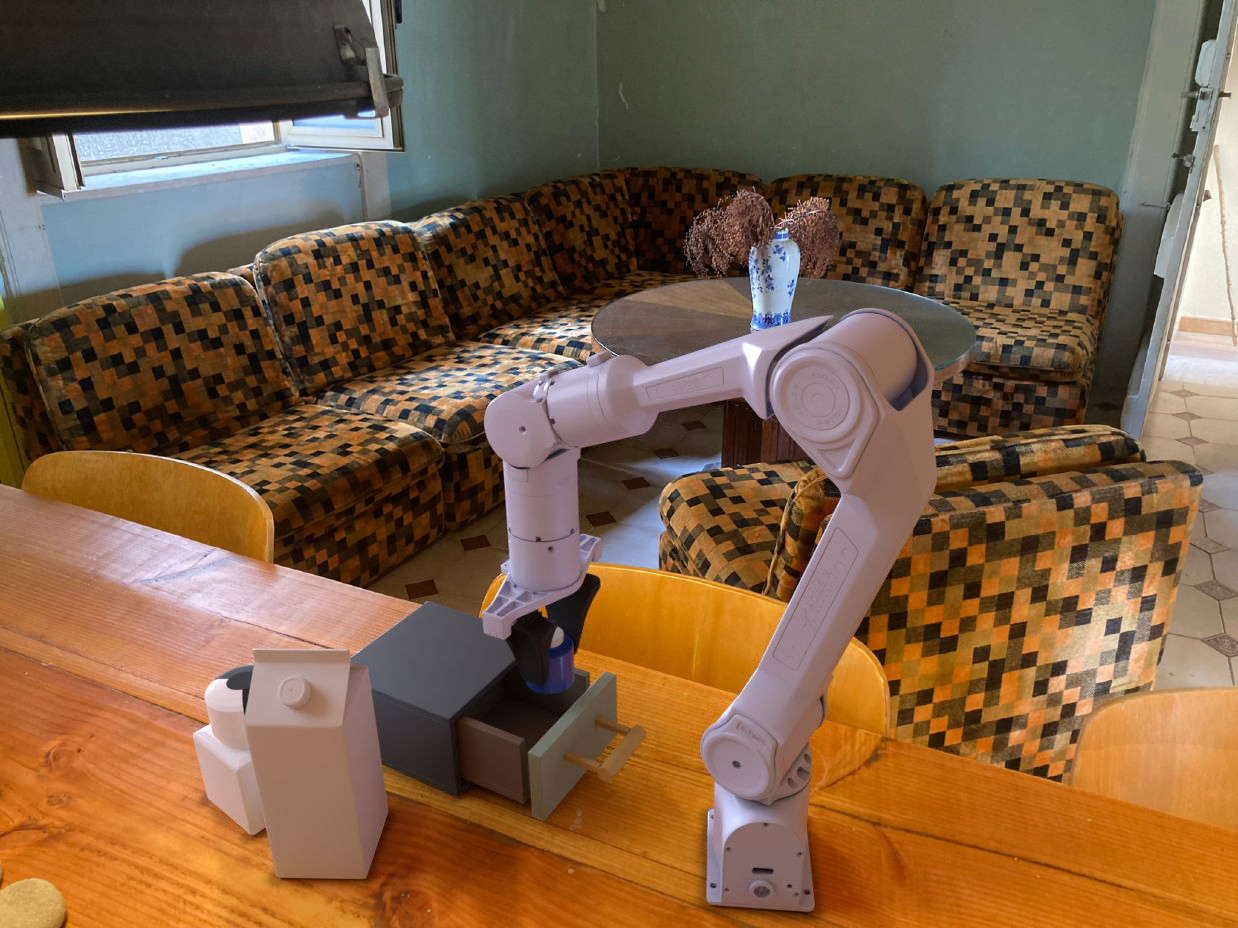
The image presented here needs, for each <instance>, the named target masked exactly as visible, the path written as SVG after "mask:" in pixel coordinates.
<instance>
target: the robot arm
mask: <svg viewBox="0 0 1238 928" xmlns="http://www.w3.org/2000/svg"><path fill="white" fill-rule="evenodd" d="M834 318H835V315H834V314H832V315H831V314H830V315H820V316H814V317H809V318H805V319H802V320H798V321H793V322H789V323H783V324H781V325H777V326H773V327H772V326H771V327H767V328H763V329H760V330H758V331H755V332H751V333H749V334H746V335H742V336H738V337H736V338H733V339H730V340H727V341H724V342H721V343H717V344H715V345H710V346H708V347H705V348H702V349H699V350H696V351H693V352H690V353H687V354H684V355H680V356H678V357H674V358H671V359H668V360H664V361H661V362H659V363H656V364H653V365H649V366H648V365H647V364H645V363H644V362H643V361H642V360H640V359H639V358H637V357H635V356H633V355H629V354H620V355H617V356H614V357H613V353H612V351H611V350H609V349H607V350H604V351H600V352H596V353H595V354H592V355H590V356H589V357H587V358H586V359H585V362H586V365H583V366H580V367H577V368H573V369H569V370H567V371H566V370H565V371H563V372H561V371H560V369H558V368H557V367H555V368H551V369H548V370H545V371H543V372H541V373H540V374H539V375H538V377H536V378H534V379H532V380H529V381H527V382H525V383H523V384H521V385H518V386H516V387H514V388H512V389H510V390H507V391H504V392H503V393H502V394H500V395H498V396H497V397H495V398H494V399H493V400H492V401H490V402H489V404H488V405H487V407H486V409H485V413H484V417H483V426H484V432H485V436H486V438H487V441H488V444H489V445H490V447H491V448H492V450H493V451H494V453H495V454H496V455H497V456H498V457H499V458H500V459H502V467H503V468H502V469H503V482H504V496H505V511H506V525H507V539H508V540H507V541H508V557H509V559H507V560H506V561H505V562H503V563H502V564H501V565H500V570H501V571H500V572H501V574H503V575H504V576H505V578H504V580H503V582H502V584H501V585H500V588H499V590H498V591H497V593H496V595H495V597H494V598H493V600H492V602H491V603H490V605H488V607H487V608H486V609H484V610H483V611H482V612H481V614H482V619H483V629H484V633H485V634H488V635H490V636H493V637H496V638H500V639H503V640H505V641H506V642H507V644H508V646H509V647H510V649H511V651H512V653H513V655H514V658H515V660H516V663H517V665H518V668H519V671H520V673H521V676H522V679H523V680H524V681H527V682H530V683H532V684H535V685H538V686H543V685H544V684H545V683H546V682H547V679H548V674H549V656H550V648H551V643H552V639H553V636H554V633H555V630H556V628H557V627H559V628H561V629H562V630H563V632H564V634H566V635H568V636H569V637H570V638H571V639H572V641H573V644H574V656H575V655H577V653H578V651H579V646H580V643H581V638H582V633H583V629H584V626H585V623H586V618H587V616H588V613H589V611H590V608H591V605H592V603H593V601H594V599H595V597H596V596H597V594H598V593H599V591H600V589H601V578H600V577H599V576H598V575H596V574H592V573H589V572H588V570H589V569H590V566H591V563H596V562H598V561H599V560H601V559H602V558H603V549H602V546H603V545H602V544H603V541H602V538H601V537H597V536H594V535H590V534H586V533H581V534H580V515H579V485H578V484H579V483H578V460H579V459H581V449H583V448H588V447H591V446H596V445H601V444H604V443H609V442H614V441H618V440H622V439H626V438H630V437H635V436H640V435H643V434H645V433H647V432H649V430H650V429H651V428H652V427H653V425H654V424H655V422H656V420H657V418H658V416H659V413H661V412H668V411H671V410H672V411H673V410H678V409H684V408H689V407H693V406H699V405H704V404H705V405H706V404H710V403H714V402H721V401H725V400H731V399H736V398H743V399H744V400H745V401H746V403H747V404H748V405H749V406H750V407H751V409H752V410H753V411H754V412H755V414H756V415H757V416H758V418H760V419H762V420H765V421H767V420H769V419H770V418H771V417H773V416H774V415H775V417H776V418H777V420H778V422H779V424H780V425H781V427H782V428H783V429H784V430H785V431H786V433H787V434H788V436H790V438H791V439H792V440H793V441H794V442H795V443H796V444H797V445H798V446H799V448H801V449H802V450H803V452H805V454H806V455H807V456H808V457H809V458H810V459H811V460H812V461H813V462H814V463H815V464H816V466H818V468H819V469H820V470H821V471H822V472H823V473H824V474H825V475H826V476H827V478H828V479H829V480H830V481H831V482H832V483H833V484H834V485H835V486H836V487H837V488H838V490H839V493H840V496H841V497H840V499H839V501H838V504H837V506H836V508H834V511H833V513H832V516H831V517H830V520H829V521H828V523H827V525H826V528H825V529H824V532H823V534H822V536H821V538H820V540H819V542H818V544H817V546H816V548H815V550H814V552H813V554H812V556H811V558H810V560H809V562H808V564H807V566H806V568H805V570H804V572H803V574H802V577H800V581H799V582H798V585H797V587H796V588H795V591H794V592H793V595H792V597H791V599H790V601H789V603H788V604H787V606H786V609H785V611H784V612H783V615H782V616H781V619H780V620H779V623H778V625H777V627H776V629H775V631H774V633H773V635H772V637H771V639H770V641H769V643H768V645H767V647H766V650H765V651H764V653H763V655H762V658H761V659H760V662H759V663H758V665H757V667H756V669H755V671H754V672H753V674H752V675H751V677H750V678H749V680H748V681H747V682H746V684H745V686H743V688H742V690H741V692H740V693H739V694H738V695H737V697H736V698H735V699H734V700H733V701H732V702H731V704H730V705H728V707H727V708H726V709H725V711H724V712H723V713H722V714H721V715H720V717H719V718H718V719H717V720H716V721H715V722H714V723H712V724H710V725H709V726H708V727H707V728H706V730H704V732H703V734H702V736H701V739H700V742H699V743H700V745H699V750H700V756H701V759H702V762H703V764H704V766H705V768H706V770H707V772H708V773H709V775H710V776H711V777H712V778H713V780H714V793H713V794H714V795H713V808H710V809H709V810H708V812H707V842H706V843H707V847H706V849H707V851H706V852H707V853H706V902H707V904H709V905H711V906H717V907H718V906H720V907H733V908H748V909H763V910H766V909H767V910H776V911H777V910H778V911H792V912H805V913H811V912H813V911H815V910H814V909H815V907H816V906H815V905H816V902H815V894H814V893H815V891H814V884H813V873H812V866H811V855H810V846H809V836H808V819H809V817H808V816H809V806H810V795H811V784H812V771H813V757H812V752H811V738H812V737H813V735H814V734H815V732H816V731H817V730H818V729H820V728H821V727H822V726H823V724H824V722H825V721H826V718H827V716H828V711H829V706H828V690H829V687H830V685H831V683H832V682H833V680H834V677H835V676H834V672H835V670H836V668H837V666H838V664H839V662H840V661H841V659H842V658H843V656H844V654H845V652H846V651H847V649H848V646H849V645H850V643H851V642H852V639H854V636H855V635H856V632H857V631H858V629H859V627H860V625H861V623H862V621H863V620H864V618H865V617H866V615H867V613H868V611H869V609H870V607H871V605H872V604H873V602H874V600H875V599H876V597H877V595H878V593H879V591H880V590H881V588H882V586H883V584H884V582H885V581H886V579H887V577H888V576H889V573H890V572H891V569H892V568H893V566H894V564H895V562H896V561H897V559H898V557H899V556H900V553H901V552H902V551H903V548H904V547H905V545H906V543H907V541H908V539H909V538H910V535H912V532H913V530H914V528H915V527H916V525H917V523H918V521H920V520H919V519H920V518H921V516H922V515H923V512H924V511H925V509H926V507H927V506H928V503H929V502H930V500H931V498H932V496H933V495H934V492H935V489H936V486H937V482H938V470H937V469H938V468H937V458H936V447H935V435H934V424H933V423H934V422H933V412H932V411H933V410H932V394H933V388H934V381H935V373H936V371H935V368H934V366H933V364H932V362H931V360H930V358H929V356H928V354H927V353H926V351H925V349H924V347H923V344H922V343H921V341H920V339H919V338H918V335H917V334H916V333H915V331H914V330H913V328H912V327H911V325H910V324H908V323H907V322H906V321H905V320H904V319H903V318H902V317H901V316H899V315H897V314H896V313H894V312H892V311H889V310H887V309H883V308H877V307H864V308H859V309H856V310H853V311H851V312H849V313H847V314H846V315H844V316H842V317H840V319H838V320H837V321H836V322H835V324H834V325H833V326H831V327H830V328H828V329H827V330H825V327H827V325H828V324H829V323H830V321H832V319H834ZM544 607H545V612H546V616H547V617H546V616H543V611H542V610H540V609H542V608H544ZM539 610H540V611H539Z"/></svg>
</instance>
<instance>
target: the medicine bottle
mask: <svg viewBox="0 0 1238 928" xmlns="http://www.w3.org/2000/svg"><path fill="white" fill-rule="evenodd" d="M253 668H254V664H246V665H241V666H237V667H234V668H232V669H229V670H227V671H224V672H223V673H221V674H220V675H218V676H216V678H214V679H213V680H212V682H210V684H209V685H208V686H207V688H206V690H205V693H204V696H203V697H204V703H205V707H206V711H207V715H208V719H209V724H207V725H205V726H204V727H202V728H200V729H199V730H197V731H195V732H193V734H192V740H193V744H194V749H195V752H196V758H197V761H198V766H199V769H200V773H201V777H202V781H203V786H204V789H205V794H206V797H207V799H208V800H209V801H210V802H211V803H212V804H213V805H215V806H216V807H217V808H218V809H219V810H220V811H222V812H223V813H224V814H225V815H226V816H227V817H228V818H230V819H231V820H232V821H233V822H234V823H236V824H237V825H238V826H239V827H240V828H241V829H243V830H244V831H245V832H246V833H247V834H248V835H249V836H255V835H257V834H258V833H260V832H261V831H262V830H265V829H266V826H265V821H264V816H263V812H262V807H261V802H260V798H259V793H258V788H257V783H256V779H255V774H254V769H253V765H252V760H251V755H250V750H249V746H248V741H247V736H246V731H245V725H244V719H245V713H246V708H247V702H248V696H249V691H250V685H251V679H252V674H253Z"/></svg>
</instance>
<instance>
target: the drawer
mask: <svg viewBox="0 0 1238 928" xmlns="http://www.w3.org/2000/svg"><path fill="white" fill-rule="evenodd" d="M574 670H575V680H574V683H573V684H572V686H571V687H570V688H568V689H567V690H565V691H563V692H560V693H556V694H541V693H537V692H535V691H533V690H532V689H530V688H529V687H528V685H527V683H526V681H524V680H523V679H522V676H521V673H520V671H519V668H518V665H516V666H515V667H514V668H513V669H512V670H510V671H509V672H508V673H507V674H506V675H505V676H504V677H503V678H502V679H501V680H499V681H498V682H497V683H496V684H495V685H494V686H493V687H492V688H491V689H490V690H489V691H487V692H486V693H485V694H484V695H483V696H482V697H481V698H480V699H479V700H478V701H476V702H475V703H474V704H473V705H472V706H471V707H470V708H469V709H468V710H467V711H466V712H464V713H463V714H462V715H461V716H460V717H459V718H458V719H457V720H456V721H455V727H456V737H457V747H458V757H459V766H460V776H461V778H464V779H466V780H468V781H471V782H472V784H476V785H479V786H480V787H482V788H485V789H487V790H490V791H492V792H494V793H497V794H499V795H502V796H504V797H506V798H508V799H511V800H513V801H515V802H518V803H520V804H522V805H525V804H526V802H527V801H528V800H529V799H530V804H531V805H530V807H531V817H532V818H534V819H537V820H539V821H542V822H545V821H546V820H547V819H548V817H550V815H551V814H552V812H554V810H555V809H556V808H557V807H558V806H559V805H560V803H561V802H562V801H563V800H564V799H565V798H566V796H567V795H568V794H569V793H570V791H572V790H573V788H574V787H575V786H576V785H577V784H578V782H579V781H580V780H581V778H582V777H583V776H584V775H585V774H586V772H587V771H588V770H589V771H592V772H594V773H597V777H598V778H599V779H600V780H601V781H603V782H604V783H610V782H612V781H613V779H614V778H615V777H616V775H617V774H618V773H619V772H620V771H621V769H622V768H623V767H624V766H625V765H626V763H627V762H628V761H629V760H630V758H631V757H632V755H633V754H634V753H635V752H636V751H637V750H638V749H639V747H640V746H641V744H642V743H643V742H644V741H645V740H646V738H647V736H648V735H647V731H646V729H645V728H644V727H643V726H641V725H640V724H639V725H638V724H635V725H634V726H632V727H629V726H626V725H625V724H621V723H618V693H617V692H618V691H617V690H618V689H617V674H614V673H611V672H608V671H606V670H605V671H603V673H602V674H601V675H600V676H599V677H598V678H597V679H596V680H595V681H594V682H593V683H592V684H591V672H590V671H588V670H585V669H582V668H579V667H576V666H574ZM618 735H621V736H624V737H623V738H622V739H621V740H620V742H619V743H618V744H617V746H615V747H614V749H613V750H612V751H611V753H610V754H609V755H608V756H607V758H606V759H605V760H604V761H603V762H602V763H601V762H599V761H597V759H598V758H599V757H600V756H601V755H602V754H603V753H604V751H605V750H606V749H607V747H608V746H609V745H610V744H611V743H612V742H613V741H614V739H615V738H616V737H617V736H618Z"/></svg>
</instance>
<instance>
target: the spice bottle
mask: <svg viewBox="0 0 1238 928" xmlns="http://www.w3.org/2000/svg"><path fill="white" fill-rule="evenodd" d="M574 667H575V655H574V644H573V641H572V639H571V638H570V637H569V636H568V635H566V634H564V632H563V630H562V629H561V628H559V627H557V628H556V630H555V633H554V636H553V639H552V643H551V648H550V656H549V674H548V679H547V682H546V683H545V684H544V685H543V686H538V685H535V684H532V683H530V682H527V681H526V683H527V685H528V687H529V688H530V689H532V690H533V691H535V692H537V693H541V694H556V693H560V692H563V691H565V690H567V689H568V688H570V687H571V686H572V684H573V683H574V680H575V670H574Z"/></svg>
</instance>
